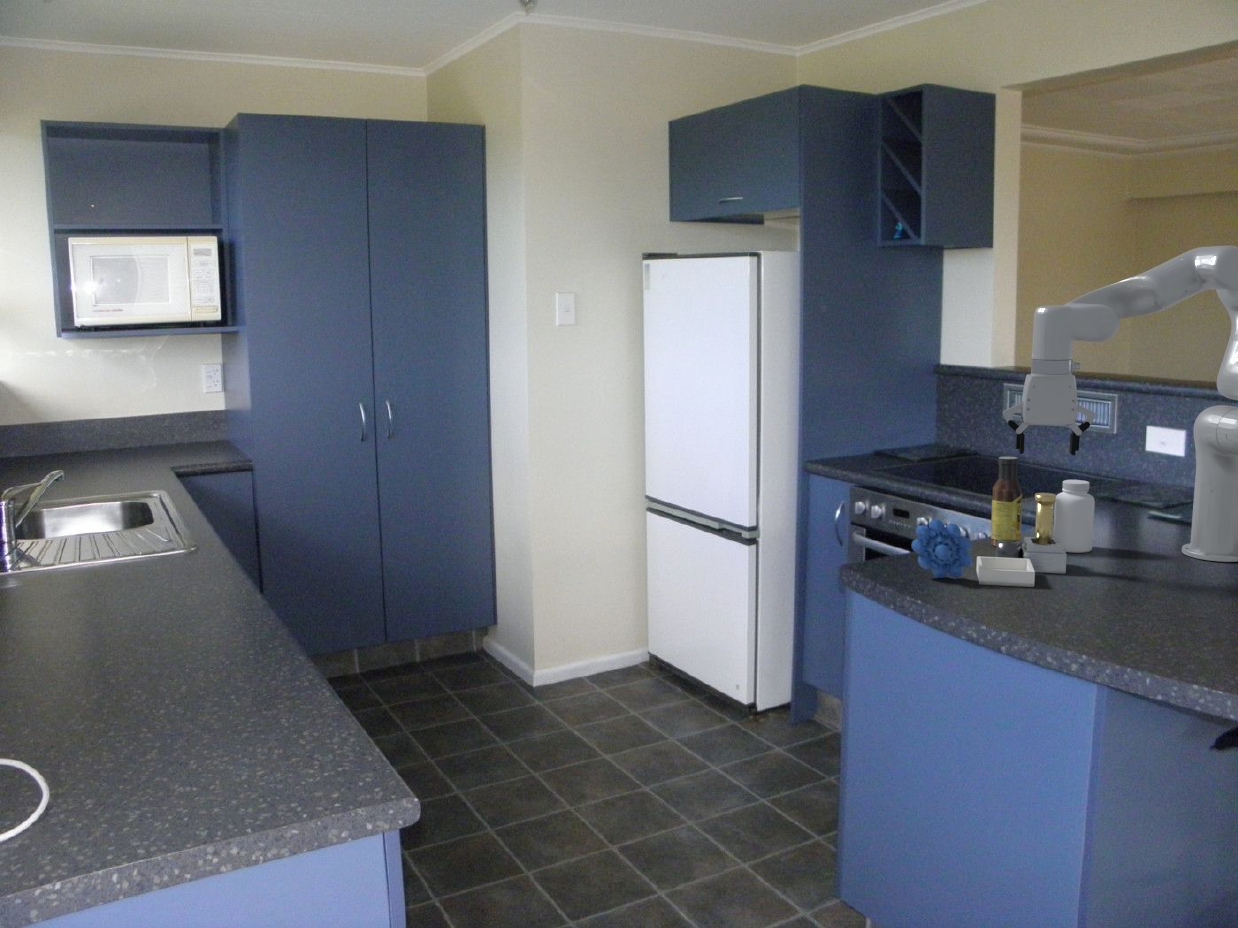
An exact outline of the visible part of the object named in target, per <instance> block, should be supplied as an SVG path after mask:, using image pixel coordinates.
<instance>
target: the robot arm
mask: <svg viewBox="0 0 1238 928" xmlns="http://www.w3.org/2000/svg"><path fill="white" fill-rule="evenodd" d="M1207 290H1213V291H1214V290H1215V291H1216V294H1217V296H1218V299H1219V300H1220V301H1221V304H1222V305H1223V306H1224V308H1225V310H1226V311H1227V313H1228V315H1229V318H1230V323H1231V330H1230V335H1229V339H1228V343H1227V346H1226V349H1225V352H1224V355H1223V358H1222V361H1221V363H1220V364H1221V365H1220V368H1219V370H1218V373H1217V378H1216V388H1217V391H1218V392H1219V394H1220V395H1221V396H1223V397H1225V398H1227V399H1230V400H1234V401H1238V246H1235V245H1215V246H1214V245H1212V246H1211V245H1210V246H1201V247H1200V246H1199V247H1195V248H1192V249H1190V250H1187V251H1186V252H1183V253H1182V254H1181V253H1180V255H1177V256H1175V257H1173V258H1171V259H1169V260H1167V261H1165V262H1163V263H1160V264H1159V265H1157V266H1154V267H1152V268H1150V269H1149V270H1147V271H1143V272H1141V273H1139V274H1137V275H1133V276H1131V277H1128V278H1124V279H1123V280H1119V281H1117V282H1115V283H1111V284H1107V285H1106V286H1105V285H1104V286H1102V287H1100V288H1097V289H1093V290H1091V291H1089V292H1087V293H1084V294H1082V295H1080V296H1078V297H1076V298H1074V299H1072V300H1071V301H1068V302H1067V303H1064V304H1063V305H1041V306H1038V307H1036V309H1035V311H1034V313H1033V327H1032V328H1033V329H1032V346H1031V362H1030V363H1031V364H1030V374H1029V373H1028V374H1026V376H1025V380H1024V383H1023V389H1022V398H1021V402H1020V403H1018V404H1016V405H1014V406H1011V407H1009V408H1007V409H1005V410H1003V411H1002V415H1003V417H1004V419H1005V421H1006V423H1007V425H1008V426H1009V427H1010V428H1011V429H1012V430H1013V431H1014V432H1015V433H1016V434H1015V450H1018V453H1019V455H1023V454H1024V453H1025V437H1026V436H1025V434H1024V433H1025V430H1026V429H1027V428H1028V427H1029V426H1048V427H1049V426H1057V427H1059V426H1060V427H1063V426H1065V427H1066V426H1068V427H1069V428H1070V430H1071V434H1070V436H1069V437H1070V438H1069V439H1070V440H1069V454H1070V455H1072V456H1076V453H1077V451H1078V452H1079V450H1080V437H1081V435H1082V434H1083V433H1084V432H1085V431H1086V430H1087V429H1089V428H1090V426H1091V425H1092V423H1093V421H1095V418H1096V417H1097V413H1096V412H1094V411H1092V410H1090V409H1088V408H1086V407H1084V406H1082V405H1080V404H1078V391H1077V390H1078V389H1077V388H1078V387H1077V380H1076V376H1075V374H1073V372H1074V371H1076V370H1080V369H1081V362H1076V361H1074V360H1073V358H1074V357H1073V356H1074V342H1085V343H1093V344H1094V343H1095V344H1097V343H1102V342H1106V341H1108V340H1110V339H1112V338H1114V336H1115V335H1116V334H1117V333H1118V331H1119V328H1120V325H1121V320H1122V319H1128V318H1135V317H1143V316H1145V317H1146V316H1149V315H1152V314H1153V315H1154V314H1157V313H1161V312H1162V311H1165V310H1167V309H1169V308H1171V307H1173V306H1176V305H1177V304H1179V303H1181V302H1183V301H1186V300H1187V299H1190V298H1192V297H1194V296H1196V295H1198V294H1200V293H1202V292H1205V291H1207ZM1018 412H1020V418H1021V421H1020V422H1019V423H1018V424H1017V422H1015V421H1014V419H1013V417H1012V416H1013V415H1014V414H1016V413H1018ZM1078 413H1080V414H1082V415H1083V416H1085V419H1084V420H1083V422H1081V423H1080V424H1079V425H1077V424H1076V422H1077V419H1078V418H1077V417H1078ZM1193 440H1194V448H1195V459H1196V460H1195V479H1194V491H1193V492H1194V493H1193V507H1192V515H1191V516H1192V519H1191V531H1190V532H1191V533H1190V543H1185V544H1183V545H1182V547H1181V553H1182V554H1184V555H1186V556H1188V557H1190V558H1194V559H1199V560H1205V561H1211V562H1220V563H1221V562H1222V563H1238V406H1234V405H1233V406H1232V405H1225V404H1224V405H1223V404H1220V405H1213V406H1208V407H1207V408H1205V409H1204V410H1203V411H1201V412H1200V413H1199V414H1198V415H1197V416H1196V418H1195V421H1194V423H1193Z"/></svg>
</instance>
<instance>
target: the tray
mask: <svg viewBox="0 0 1238 928" xmlns="http://www.w3.org/2000/svg"><path fill="white" fill-rule="evenodd" d="M975 571H976V574H977V581H978V584H979V585H985V586H987V585H989V586H1007V587H1008V586H1009V587H1024V588H1025V587H1027V588H1030V587H1031V588H1034V587H1035V579H1036V578H1035V577H1036V572H1035V571H1034V569H1033V566H1032V564H1031V561H1030V559H1024V558H1002V557H996V556H980V555H979V556H976V568H975Z"/></svg>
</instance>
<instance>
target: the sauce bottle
mask: <svg viewBox="0 0 1238 928" xmlns="http://www.w3.org/2000/svg"><path fill="white" fill-rule="evenodd" d="M997 463H998V475H997V476H998V479H997V480H996V481H995V483H994V485H993V486H992V499H991V521H990V523H991V525H990V527H991V529H990V539H991V541H990V543H991V545H992V547H995V548H996V541H997V540H1003V539H1009V540H1017V541H1020V542H1021V540H1022V515H1023V513H1022V512H1023V511H1022V510H1023V509H1022V508H1023V491H1022V489H1021V485H1020V482H1019V480H1018V474H1017V473H1018V472H1017V471H1018V463H1019V459H1018V457H1016V456H999V457H998V460H997Z"/></svg>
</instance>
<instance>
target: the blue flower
mask: <svg viewBox="0 0 1238 928" xmlns="http://www.w3.org/2000/svg"><path fill="white" fill-rule="evenodd" d="M961 532H962V531H961V528H960V527H959V525H957V524H955V523H948V524H946V525H945V523H944V522H943V521H942V520H940V519H937V518H934V519H932V520H930V522H929V525H928V526H927V525H919V526H917V527H916V530H915V533H916V536H917V537H918V538H916V539H913V540H912V542H911V549H912V550H913V551H914V552H915V553H916V554H918V557H917V562H918V565H919V566H920V567H921V568H922V569H925V570H929V569H931V572H932V574H933V575H934V576H935V577H936V578H939V579H941V578H942V579H944V578H947V576H948V575H950V577H953V578H955V579H958V578H959V577H961V576H962V575H963V573H964V570H963V568H969V567H970V566H972V565H973V561H974V560H973V558H972V556H971V554H970V553H968V552H969V551H971V549H972V542H971V540H970V539H969V538H968V537H965V536H963V535H962V536H961V534H962V533H961Z"/></svg>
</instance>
